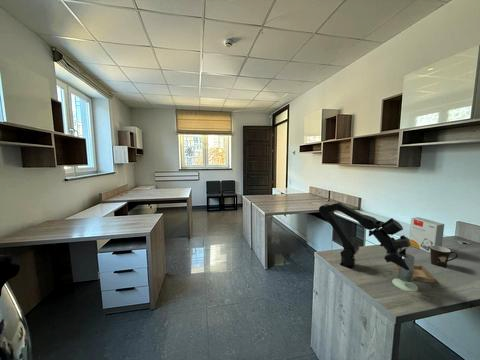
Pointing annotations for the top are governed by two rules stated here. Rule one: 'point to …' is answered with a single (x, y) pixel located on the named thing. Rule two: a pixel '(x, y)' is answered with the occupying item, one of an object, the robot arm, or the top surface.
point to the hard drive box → (425, 233)
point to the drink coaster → (405, 285)
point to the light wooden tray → (420, 274)
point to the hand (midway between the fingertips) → (409, 267)
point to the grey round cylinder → (403, 273)
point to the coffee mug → (440, 255)
